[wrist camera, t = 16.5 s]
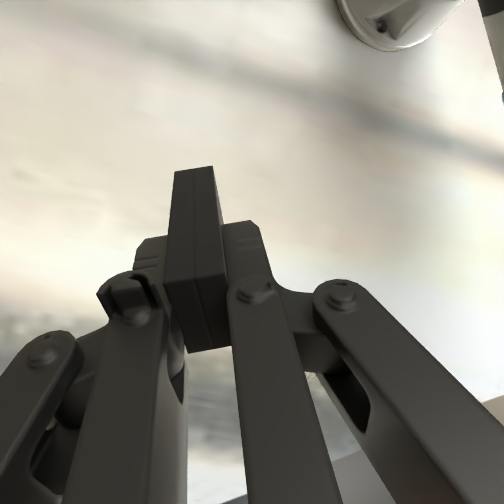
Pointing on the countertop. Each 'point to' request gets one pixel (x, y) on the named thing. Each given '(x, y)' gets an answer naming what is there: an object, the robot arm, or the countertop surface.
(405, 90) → the countertop surface
